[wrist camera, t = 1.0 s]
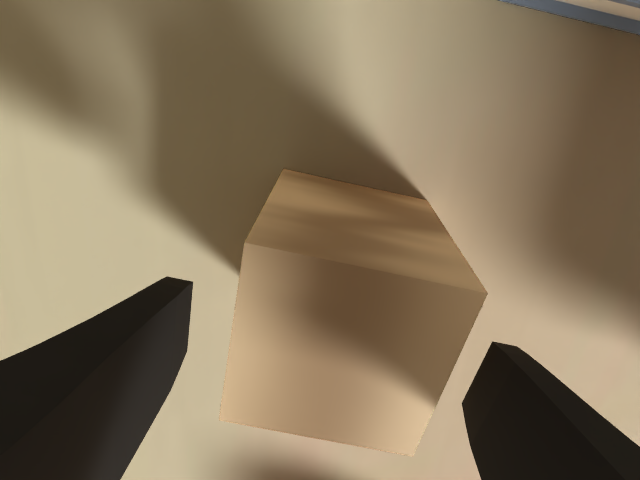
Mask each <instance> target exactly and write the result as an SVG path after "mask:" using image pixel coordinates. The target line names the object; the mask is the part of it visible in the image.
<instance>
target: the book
mask: <svg viewBox="0 0 640 480" xmlns="http://www.w3.org/2000/svg"><path fill="white" fill-rule="evenodd" d="M499 1H503V2H507V3H511V4H515V5H519V6H523V7H527V8H531V9H535V10H539V11H543V12H547V13H552V14H556V15H560V16H564V17H568V18H572V19H576V20H580V21H584V22H588V23H592V24H596V25H601V26H605V27H609V28H613V29H617V30H621V31H625V32H629V33H633V34H637V35H640V0H499Z"/></svg>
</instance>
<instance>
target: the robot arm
mask: <svg viewBox="0 0 640 480" xmlns="http://www.w3.org/2000/svg"><path fill="white" fill-rule="evenodd" d="M192 289H193V282H192V281H187V280H182V279H176V278H171V277H165V278H163V279H161V280H159V281H157V282H156V283H154V284H152V285H150V286H148V287H147V288H145V289H143V290H141V291H140V292H138V293H136V294H134V295H133V296H131V297H129V298H127V299H125V300H124V301H122V302H120V303H118V304H116V305H114V306H113V307H111V308H109V309H107V310H105V311H103V312H102V313H100V314H98V315H96V316H94V317H92V318H91V319H89V320H87V321H85V322H83V323H80V324H78V325H76V326H74V327H72V328H70V329H68V330H66V331H64V332H62V333H60V334H58V335H56V336H54V337H52V338H50V339H48V340H46V341H44V342H42V343H40V344H38V345H35V346H33V347H31V348H29V349H27V350H24V351H22V352H20V353H18V354H15V355H13V356H11V357H8V358H6V359H4V360H1V361H0V480H120V479H121V477H122V476H123V474H124V472H125V470H126V469H127V467H128V465H129V463H130V462H131V460H132V458H133V456H134V455H135V453H136V451H137V449H138V448H139V446H140V444H141V442H142V440H143V439H144V437H145V435H146V433H147V432H148V430H149V428H150V426H151V425H152V423H153V421H154V419H155V418H156V416H157V414H158V412H159V410H160V409H161V407H162V405H163V403H164V401H165V400H166V398H167V396H168V394H169V392H170V391H171V388H172V386H173V384H174V381H175V379H176V377H177V374H178V372H179V370H180V367H181V365H182V362H183V360H184V357H185V355H186V352H187V346H188V335H189V323H190V312H191V300H192ZM462 407H463V412H464V418H465V424H466V429H467V433H468V438H469V442H470V446H471V450H472V453H473V456H474V459H475V462H476V465H477V468H478V471H479V474H480V477H481V480H640V447H639V446H638V445H637V444H636V443H634V442H633V441H632V440H630V439H629V438H628V437H627V436H626V435H624V434H623V433H622V432H621V431H619V430H618V429H617V428H616V427H615V426H613V425H612V424H611V423H610V422H608V421H607V420H606V419H605V418H604V417H602V416H601V415H600V414H599V413H598V412H596V411H595V410H594V409H593V408H592V407H591V406H589V405H588V404H587V403H586V402H585V401H583V400H582V399H581V398H580V397H579V396H578V395H576V394H575V393H574V392H573V391H572V390H570V389H569V388H568V387H567V386H566V385H565V384H563V383H562V382H561V381H560V380H559V379H558V378H556V377H555V376H554V375H553V374H552V373H550V372H549V371H548V370H547V369H546V368H544V367H543V366H542V365H541V364H539V363H538V362H537V361H536V360H534V359H533V358H532V357H531V356H529V355H528V354H527V353H525V352H524V351H523V350H521V349H520V348H518V347H517V346H512V345H507V344H502V343H497V342H492V343H491V345H490V347H489V349H488V352H487V354H486V356H485V358H484V360H483V362H482V364H481V366H480V368H479V370H478V372H477V374H476V376H475V378H474V380H473V382H472V384H471V386H470V388H469V390H468V392H467V394H466V396H465V398H464V400H463V402H462Z"/></svg>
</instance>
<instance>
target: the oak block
mask: <svg viewBox="0 0 640 480" xmlns="http://www.w3.org/2000/svg"><path fill="white" fill-rule="evenodd" d="M487 294H488V293H487V291H486V290H485V288H484V287H483V285H482V284H481V282H480V280H479V279H478V277H477V276H476V274H475V273H474V271H473V270H472V268H471V267H470V265H469V264H468V262H467V261H466V259H465V257H464V256H463V254H462V253H461V251H460V250H459V248H458V247H457V245H456V244H455V242H454V241H453V239H452V238H451V236H450V235H449V233H448V231H447V230H446V228H445V227H444V225H443V224H442V222H441V221H440V219H439V218H438V216H437V215H436V213H435V212H434V210H433V208H432V207H431V205H430V204H429V202H428V201H427V200H424V199H419V198H415V197H410V196H406V195H401V194H396V193H392V192H387V191H383V190H378V189H374V188H369V187H364V186H360V185H355V184H351V183H346V182H342V181H337V180H332V179H328V178H323V177H319V176H314V175H310V174H305V173H300V172H296V171H291V170H287V169H283V171H282V172H281V174H280V176H279V178H278V180H277V182H276V184H275V186H274V187H273V189H272V191H271V193H270V195H269V197H268V199H267V201H266V203H265V204H264V206H263V208H262V210H261V212H260V214H259V216H258V218H257V219H256V221H255V223H254V225H253V227H252V229H251V231H250V233H249V234H248V236H247V238H246V240H245V242H244V248H243V255H242V262H241V269H240V276H239V283H238V290H237V297H236V304H235V311H234V318H233V325H232V332H231V339H230V345H229V352H228V359H227V366H226V373H225V380H224V387H223V394H222V401H221V408H220V415H219V420H220V421H225V422H231V423H236V424H241V425H247V426H252V427H257V428H263V429H268V430H273V431H279V432H284V433H289V434H295V435H300V436H305V437H311V438H316V439H321V440H327V441H332V442H338V443H343V444H348V445H354V446H359V447H364V448H370V449H375V450H380V451H386V452H391V453H396V454H402V455H407V456H412V457H413V455H414V453H415V451H416V448H417V446H418V444H419V442H420V440H421V438H422V435H423V433H424V431H425V429H426V427H427V425H428V422H429V420H430V418H431V416H432V414H433V412H434V409H435V407H436V405H437V403H438V401H439V398H440V396H441V394H442V392H443V390H444V388H445V385H446V383H447V381H448V379H449V377H450V375H451V372H452V370H453V368H454V366H455V364H456V361H457V359H458V357H459V355H460V353H461V351H462V348H463V346H464V344H465V342H466V340H467V338H468V335H469V333H470V331H471V329H472V327H473V325H474V322H475V320H476V318H477V316H478V314H479V311H480V309H481V307H482V305H483V303H484V301H485V298H486V296H487Z"/></svg>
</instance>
